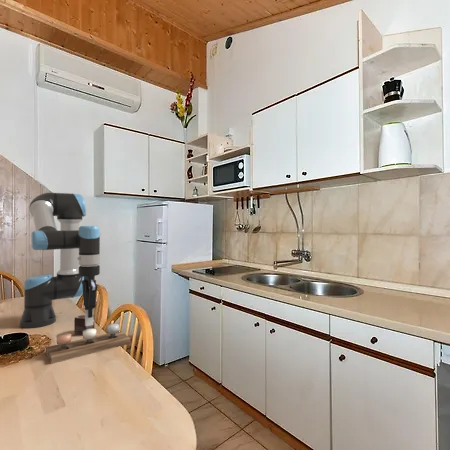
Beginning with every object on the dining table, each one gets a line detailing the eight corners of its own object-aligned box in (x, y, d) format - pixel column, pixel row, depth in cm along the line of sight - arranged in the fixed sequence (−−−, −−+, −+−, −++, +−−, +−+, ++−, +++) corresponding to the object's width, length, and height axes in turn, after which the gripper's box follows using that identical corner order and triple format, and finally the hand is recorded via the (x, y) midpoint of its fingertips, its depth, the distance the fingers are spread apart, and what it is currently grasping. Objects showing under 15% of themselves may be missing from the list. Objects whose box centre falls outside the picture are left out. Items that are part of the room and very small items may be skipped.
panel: (45, 352, 112) (45, 347, 112) (119, 335, 130) (119, 330, 130) (51, 363, 103) (51, 357, 103) (130, 343, 121) (130, 338, 121)
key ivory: (81, 341, 117) (81, 330, 117) (94, 338, 120) (94, 327, 120) (84, 345, 113) (84, 333, 113) (97, 342, 116) (97, 330, 116)
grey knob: (105, 336, 123) (104, 325, 123) (116, 333, 126) (116, 323, 126) (108, 339, 119) (108, 328, 119) (120, 336, 122) (120, 326, 122)
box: (86, 335, 130) (86, 318, 130) (73, 334, 131) (73, 317, 131) (94, 330, 136) (94, 314, 136) (83, 329, 137) (83, 313, 137)
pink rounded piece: (55, 346, 111) (55, 335, 111) (69, 343, 114) (69, 332, 114) (57, 351, 108) (57, 338, 108) (72, 347, 111) (72, 335, 111)
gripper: (74, 264, 120) (74, 322, 120) (83, 268, 109) (83, 332, 110) (94, 262, 124) (94, 318, 124) (104, 266, 114) (104, 327, 114)
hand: (89, 325), depth 117 cm, fingers closed
